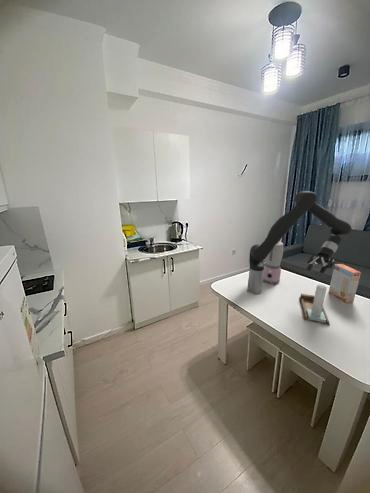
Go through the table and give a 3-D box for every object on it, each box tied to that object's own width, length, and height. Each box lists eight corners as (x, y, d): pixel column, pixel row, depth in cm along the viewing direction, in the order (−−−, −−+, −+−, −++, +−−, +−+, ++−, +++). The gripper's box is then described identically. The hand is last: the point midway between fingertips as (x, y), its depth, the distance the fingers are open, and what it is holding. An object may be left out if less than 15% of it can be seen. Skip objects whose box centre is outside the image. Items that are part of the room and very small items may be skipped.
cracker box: (353, 302, 128) (362, 272, 122) (344, 303, 127) (352, 272, 121) (336, 291, 141) (342, 263, 135) (328, 291, 141) (334, 263, 134)
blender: (265, 275, 166) (269, 238, 156) (281, 279, 159) (286, 240, 149) (258, 283, 154) (263, 242, 144) (275, 288, 147) (281, 245, 137)
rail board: (303, 319, 113) (304, 314, 112) (299, 298, 134) (300, 292, 133) (329, 325, 108) (330, 319, 107) (320, 301, 130) (321, 296, 128)
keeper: (308, 319, 112) (314, 289, 106) (306, 310, 119) (311, 282, 113) (325, 322, 109) (332, 291, 103) (322, 313, 116) (328, 284, 110)
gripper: (313, 245, 131) (300, 266, 129) (336, 247, 117) (322, 269, 115) (320, 252, 133) (307, 272, 131) (343, 255, 120) (329, 277, 117)
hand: (314, 271), depth 123 cm, fingers open, 8 cm apart
